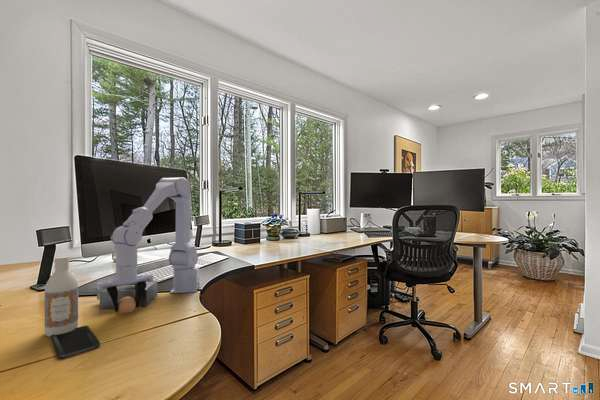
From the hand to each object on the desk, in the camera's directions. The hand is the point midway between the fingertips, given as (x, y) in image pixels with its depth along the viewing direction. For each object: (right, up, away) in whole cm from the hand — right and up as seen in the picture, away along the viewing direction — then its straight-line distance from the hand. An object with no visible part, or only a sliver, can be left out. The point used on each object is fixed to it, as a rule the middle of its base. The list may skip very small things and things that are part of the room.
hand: (126, 308), depth 88 cm
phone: (-2, -2, -18) cm, 18 cm away
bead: (0, +1, 0) cm, 1 cm away
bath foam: (-10, -2, -12) cm, 16 cm away
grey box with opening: (-6, -2, +10) cm, 12 cm away
